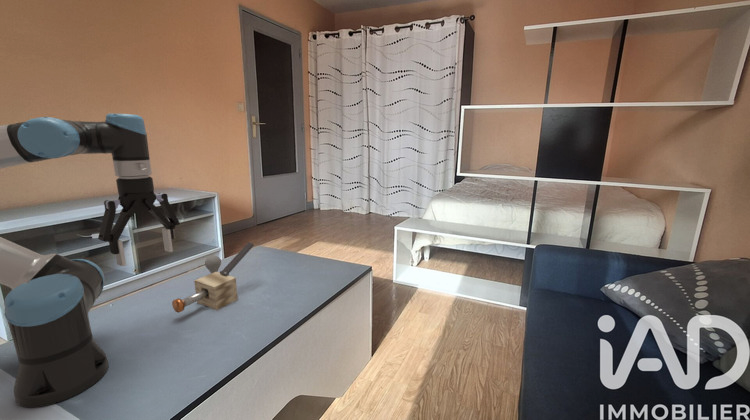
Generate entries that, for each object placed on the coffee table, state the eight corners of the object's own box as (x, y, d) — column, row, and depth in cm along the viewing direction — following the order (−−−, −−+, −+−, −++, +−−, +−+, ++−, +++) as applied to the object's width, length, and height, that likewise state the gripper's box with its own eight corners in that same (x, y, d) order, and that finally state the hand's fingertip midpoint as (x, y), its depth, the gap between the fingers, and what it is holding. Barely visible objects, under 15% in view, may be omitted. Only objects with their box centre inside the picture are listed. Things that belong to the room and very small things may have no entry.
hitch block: (216, 310, 102) (214, 287, 100) (197, 302, 106) (194, 280, 105) (237, 299, 109) (235, 277, 107) (218, 292, 113) (216, 271, 111)
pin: (181, 314, 95) (179, 301, 94) (173, 310, 96) (171, 298, 95) (220, 295, 106) (219, 284, 105) (212, 292, 108) (211, 281, 107)
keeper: (227, 276, 108) (225, 274, 107) (220, 274, 109) (219, 272, 109) (254, 245, 117) (253, 243, 117) (248, 244, 119) (247, 242, 118)
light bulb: (218, 283, 120) (215, 258, 118) (204, 283, 120) (201, 258, 118) (225, 277, 126) (222, 253, 123) (211, 277, 126) (209, 253, 123)
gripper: (84, 183, 70) (101, 276, 74) (188, 173, 90) (196, 247, 95) (68, 180, 73) (85, 270, 78) (172, 172, 93) (180, 243, 98)
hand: (146, 257), depth 86 cm, fingers open, 11 cm apart
